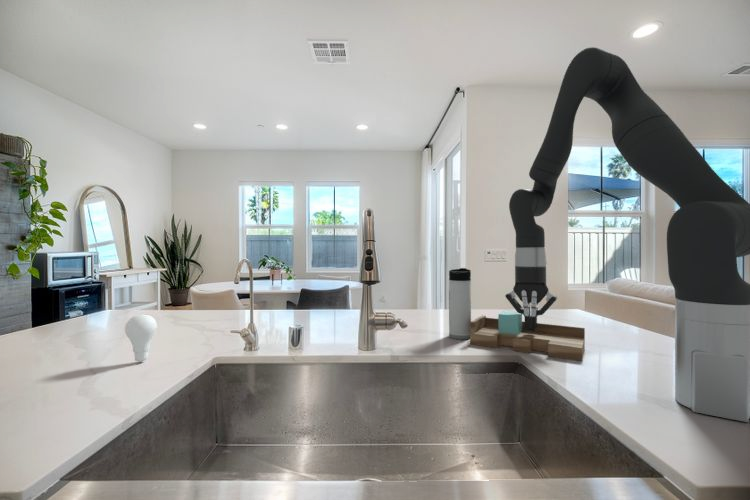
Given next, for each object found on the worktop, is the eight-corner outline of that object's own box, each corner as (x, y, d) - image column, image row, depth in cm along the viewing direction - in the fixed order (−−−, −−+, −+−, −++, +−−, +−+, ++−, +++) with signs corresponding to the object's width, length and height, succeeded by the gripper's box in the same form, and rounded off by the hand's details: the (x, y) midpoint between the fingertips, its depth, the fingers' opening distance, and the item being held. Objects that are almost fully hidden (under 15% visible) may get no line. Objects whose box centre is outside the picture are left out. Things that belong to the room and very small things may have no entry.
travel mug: (474, 335, 103) (474, 268, 103) (467, 340, 97) (467, 269, 97) (453, 333, 106) (453, 267, 106) (445, 337, 101) (445, 268, 100)
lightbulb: (160, 362, 80) (160, 314, 80) (128, 368, 75) (128, 318, 75) (152, 356, 84) (152, 311, 84) (122, 362, 79) (121, 314, 79)
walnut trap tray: (582, 361, 79) (582, 334, 79) (470, 344, 94) (470, 321, 94) (584, 349, 89) (584, 325, 89) (482, 335, 103) (482, 315, 103)
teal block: (517, 334, 92) (517, 316, 92) (498, 332, 94) (498, 314, 94) (522, 331, 96) (522, 313, 96) (503, 328, 98) (503, 311, 98)
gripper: (500, 265, 93) (501, 329, 93) (556, 265, 85) (557, 336, 85) (507, 263, 99) (508, 324, 99) (559, 264, 92) (560, 330, 91)
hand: (531, 330), depth 92 cm, fingers closed
